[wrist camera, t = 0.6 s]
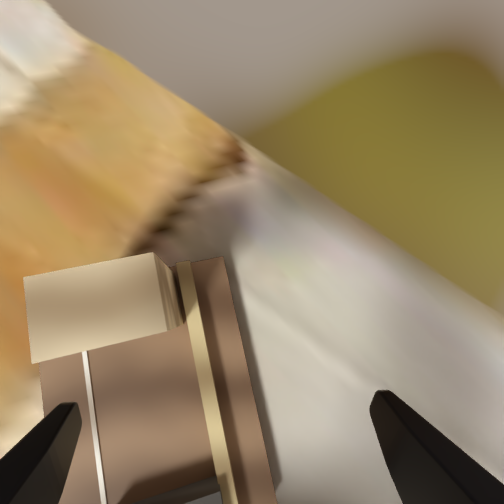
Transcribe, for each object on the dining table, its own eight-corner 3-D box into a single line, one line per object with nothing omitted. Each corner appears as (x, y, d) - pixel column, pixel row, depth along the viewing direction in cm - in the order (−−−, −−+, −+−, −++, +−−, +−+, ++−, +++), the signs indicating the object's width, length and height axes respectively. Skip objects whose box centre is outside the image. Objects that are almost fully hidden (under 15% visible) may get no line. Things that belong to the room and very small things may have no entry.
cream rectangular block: (183, 324, 22) (167, 331, 14) (81, 348, 21) (2, 371, 13) (173, 272, 23) (153, 252, 15) (74, 293, 21) (-6, 282, 14)
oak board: (274, 493, 21) (284, 524, 18) (70, 566, 19) (43, 616, 16) (222, 258, 24) (224, 251, 21) (41, 296, 22) (13, 293, 19)
